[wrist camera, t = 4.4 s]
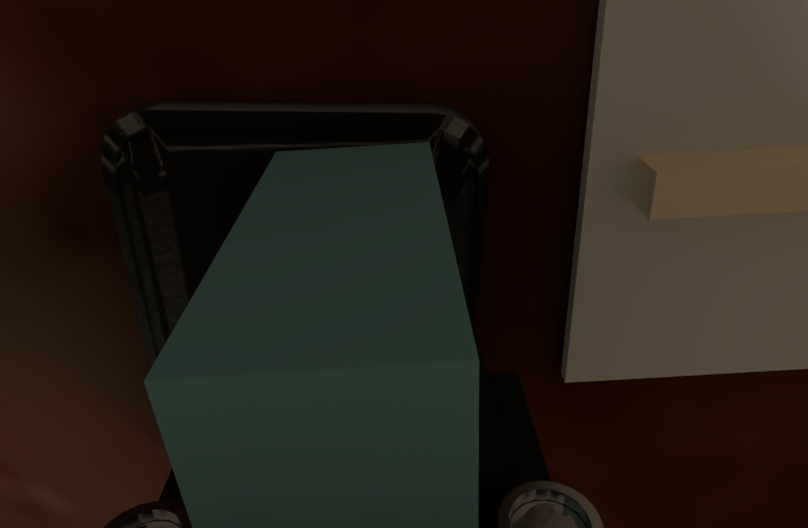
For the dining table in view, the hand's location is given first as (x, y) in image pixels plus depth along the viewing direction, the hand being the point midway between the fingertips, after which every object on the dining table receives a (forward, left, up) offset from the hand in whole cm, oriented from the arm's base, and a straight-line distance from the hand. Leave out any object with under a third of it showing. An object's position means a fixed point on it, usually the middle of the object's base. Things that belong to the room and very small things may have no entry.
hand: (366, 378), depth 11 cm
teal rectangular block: (0, 0, -2) cm, 2 cm away
